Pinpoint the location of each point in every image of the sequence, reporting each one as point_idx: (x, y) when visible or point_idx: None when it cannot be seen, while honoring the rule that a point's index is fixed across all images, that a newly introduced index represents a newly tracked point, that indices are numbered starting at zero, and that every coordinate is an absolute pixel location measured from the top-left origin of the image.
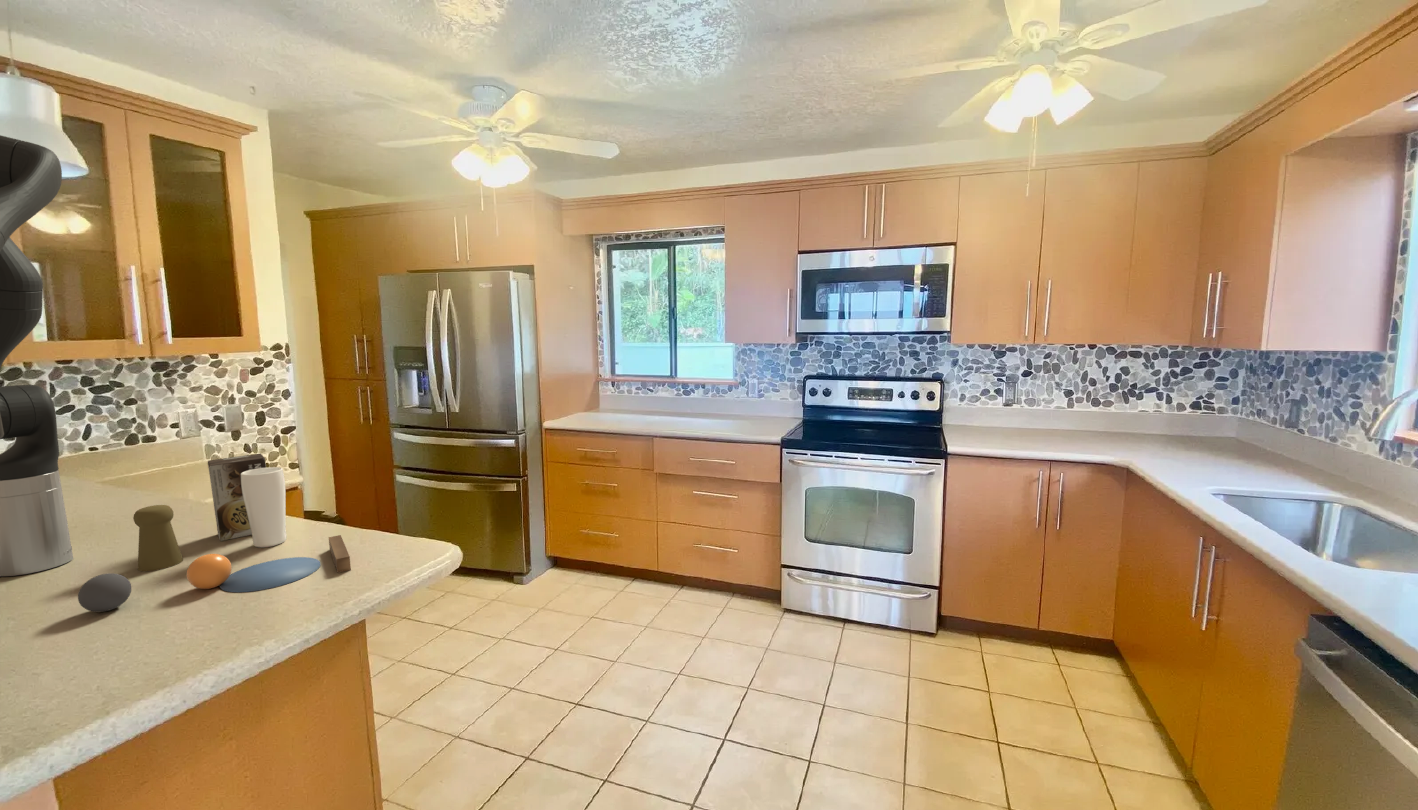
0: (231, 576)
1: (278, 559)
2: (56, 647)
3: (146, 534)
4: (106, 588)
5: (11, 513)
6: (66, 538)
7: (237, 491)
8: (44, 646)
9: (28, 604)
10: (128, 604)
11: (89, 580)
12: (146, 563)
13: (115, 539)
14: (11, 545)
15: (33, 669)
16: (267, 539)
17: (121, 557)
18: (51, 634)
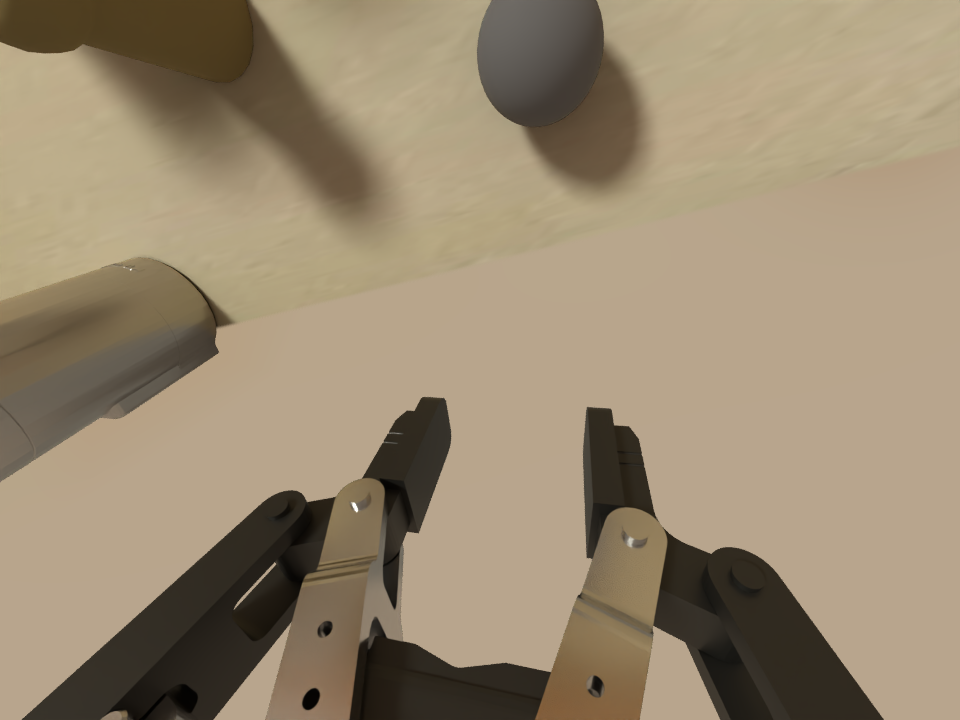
0: None
1: None
2: (760, 116)
3: (128, 8)
4: (595, 23)
5: (75, 392)
6: (94, 277)
7: None
8: (721, 149)
9: (388, 262)
10: None
11: (543, 86)
12: (231, 40)
13: (14, 210)
14: (160, 354)
15: (891, 125)
16: None
17: (133, 157)
18: (637, 159)
